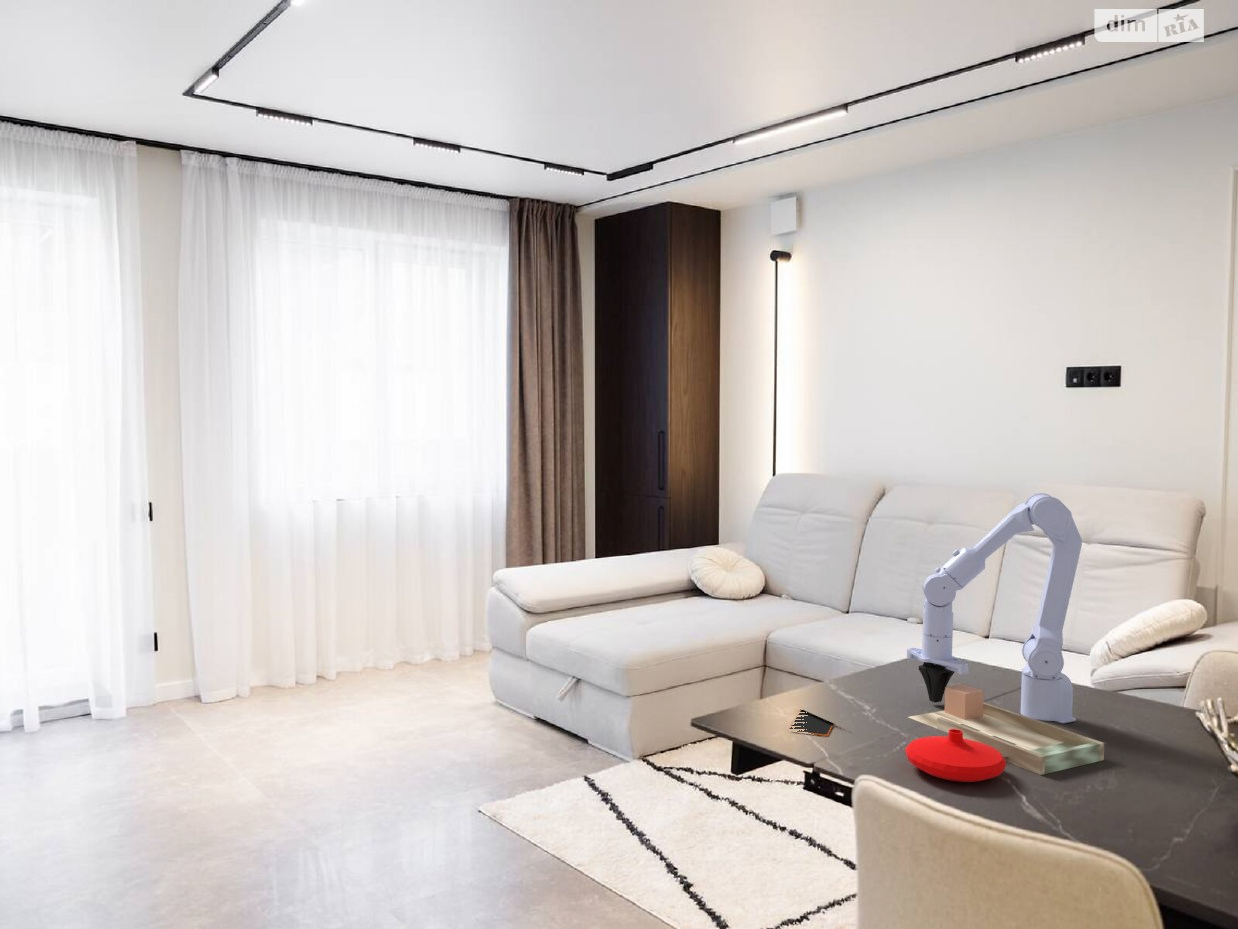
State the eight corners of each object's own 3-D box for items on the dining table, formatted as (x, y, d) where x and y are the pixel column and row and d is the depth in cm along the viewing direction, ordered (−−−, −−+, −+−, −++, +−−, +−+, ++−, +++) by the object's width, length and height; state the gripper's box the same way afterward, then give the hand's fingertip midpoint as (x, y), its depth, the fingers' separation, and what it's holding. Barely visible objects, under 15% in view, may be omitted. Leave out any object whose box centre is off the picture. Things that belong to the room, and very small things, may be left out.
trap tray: (967, 711, 189) (967, 696, 189) (1103, 760, 162) (1104, 743, 162) (907, 722, 181) (907, 706, 181) (1040, 775, 155) (1040, 757, 155)
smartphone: (787, 734, 175) (787, 729, 175) (803, 709, 190) (803, 704, 190) (828, 739, 172) (828, 734, 172) (841, 713, 188) (841, 709, 188)
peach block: (962, 709, 187) (963, 684, 187) (983, 716, 182) (983, 690, 182) (944, 712, 185) (945, 687, 184) (964, 719, 180) (965, 694, 180)
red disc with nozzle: (995, 800, 145) (997, 754, 144) (893, 778, 153) (894, 735, 153) (1013, 768, 158) (1015, 727, 158) (918, 750, 166) (919, 710, 166)
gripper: (896, 628, 193) (894, 694, 194) (950, 644, 180) (948, 714, 181) (922, 625, 196) (920, 690, 197) (977, 640, 184) (975, 709, 184)
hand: (935, 701), depth 189 cm, fingers closed
